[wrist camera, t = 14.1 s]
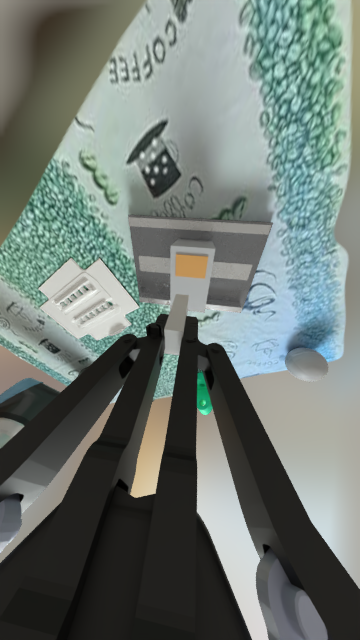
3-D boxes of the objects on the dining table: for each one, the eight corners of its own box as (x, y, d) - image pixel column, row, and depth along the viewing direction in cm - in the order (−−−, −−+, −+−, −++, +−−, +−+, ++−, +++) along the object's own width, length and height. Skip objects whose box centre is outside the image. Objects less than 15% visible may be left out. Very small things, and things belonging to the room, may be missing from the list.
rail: (141, 296, 35) (135, 302, 32) (130, 214, 25) (121, 214, 23) (241, 306, 33) (245, 314, 30) (270, 222, 23) (279, 223, 21)
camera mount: (215, 370, 48) (218, 402, 40) (221, 382, 52) (224, 414, 43) (183, 374, 52) (179, 404, 43) (190, 385, 56) (188, 415, 47)
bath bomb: (277, 361, 42) (290, 388, 35) (282, 341, 37) (299, 367, 31) (309, 360, 40) (330, 388, 33) (319, 340, 35) (344, 367, 29)
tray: (31, 296, 41) (17, 303, 38) (92, 240, 31) (81, 242, 27) (88, 344, 50) (80, 352, 47) (150, 312, 40) (146, 320, 37)
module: (177, 290, 31) (170, 309, 25) (178, 238, 26) (170, 245, 19) (204, 292, 31) (204, 313, 24) (212, 240, 25) (215, 249, 18)
